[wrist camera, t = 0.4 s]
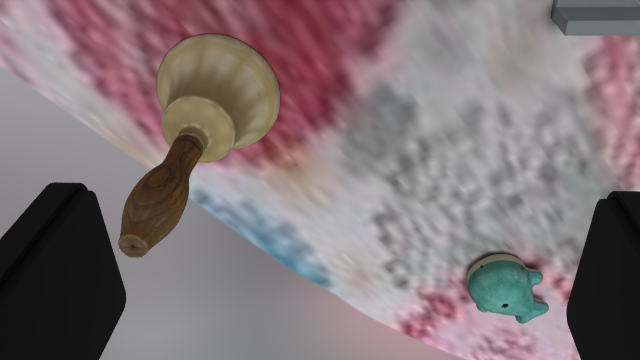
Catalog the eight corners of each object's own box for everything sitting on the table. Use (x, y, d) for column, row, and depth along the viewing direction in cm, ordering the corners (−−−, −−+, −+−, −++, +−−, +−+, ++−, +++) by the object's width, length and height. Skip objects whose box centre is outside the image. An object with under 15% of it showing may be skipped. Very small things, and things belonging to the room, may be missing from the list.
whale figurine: (511, 234, 42) (523, 269, 39) (563, 289, 45) (577, 325, 42) (448, 270, 45) (453, 306, 42) (500, 320, 47) (509, 357, 44)
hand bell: (131, 78, 37) (-1, 229, 24) (224, 7, 34) (130, 136, 21) (214, 166, 41) (138, 341, 27) (305, 109, 38) (269, 275, 24)
